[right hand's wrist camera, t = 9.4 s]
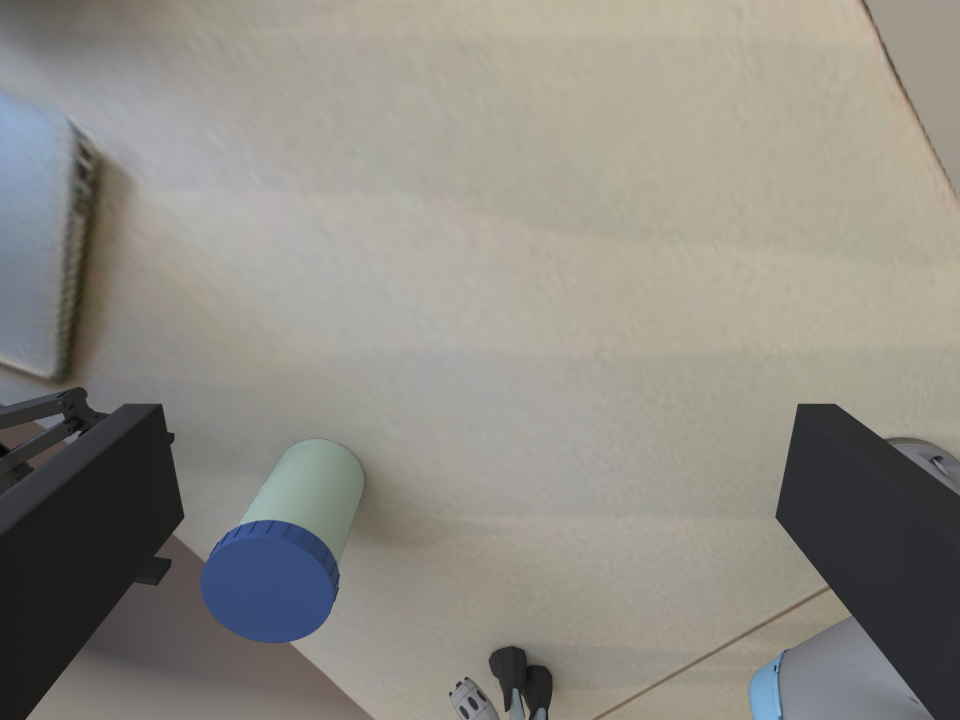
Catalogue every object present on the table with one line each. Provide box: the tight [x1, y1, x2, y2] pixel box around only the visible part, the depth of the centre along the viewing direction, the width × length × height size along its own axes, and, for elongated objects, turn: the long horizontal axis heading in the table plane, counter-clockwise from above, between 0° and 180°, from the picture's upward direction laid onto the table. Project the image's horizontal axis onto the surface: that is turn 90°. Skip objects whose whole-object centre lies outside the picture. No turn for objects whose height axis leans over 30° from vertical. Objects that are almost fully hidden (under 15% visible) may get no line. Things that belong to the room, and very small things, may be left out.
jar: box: [237, 439, 365, 566], centre depth 52 cm, size 9×9×16 cm
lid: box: [201, 520, 340, 643], centre depth 45 cm, size 10×10×2 cm
